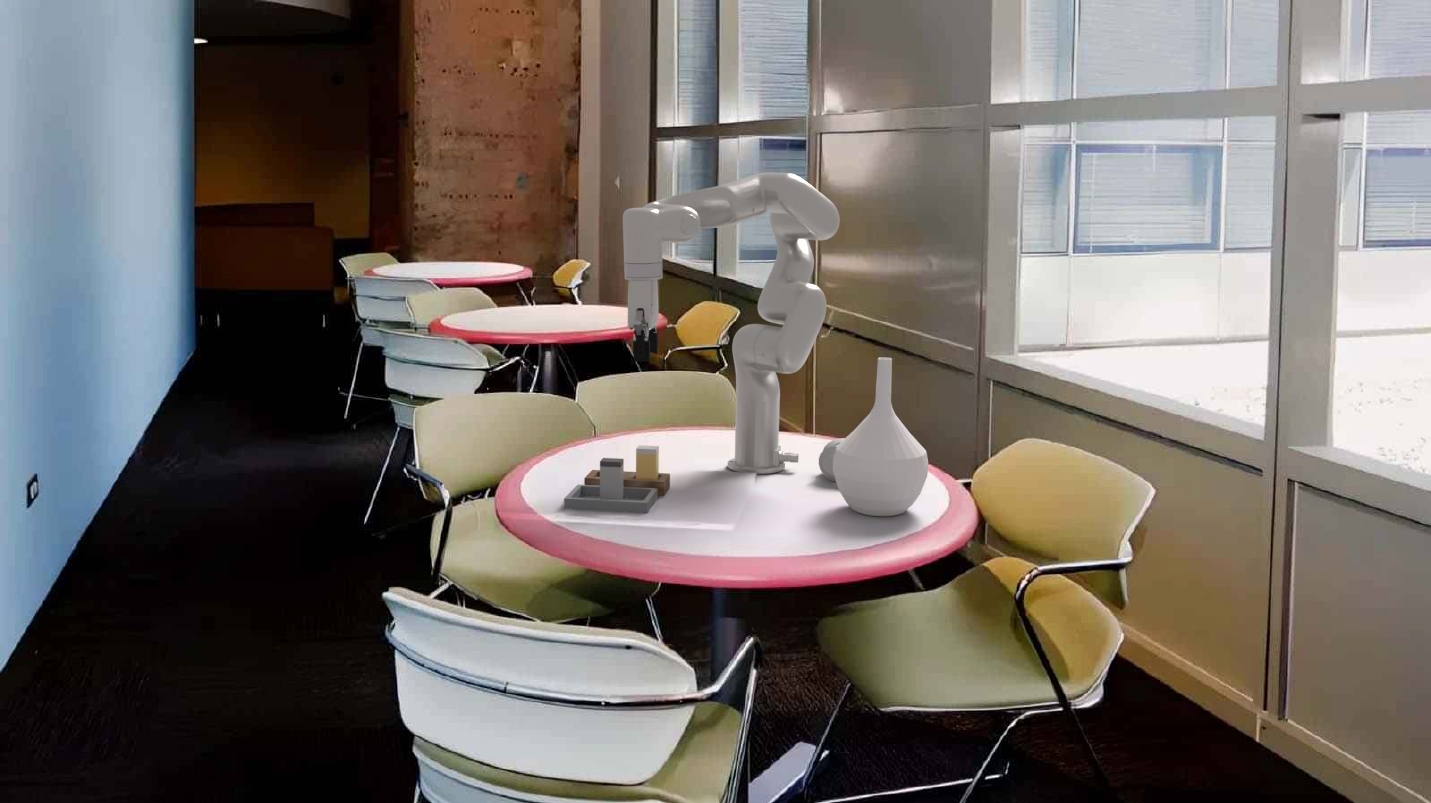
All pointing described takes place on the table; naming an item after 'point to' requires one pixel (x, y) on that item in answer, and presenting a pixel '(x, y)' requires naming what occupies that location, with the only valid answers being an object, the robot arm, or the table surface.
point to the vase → (880, 458)
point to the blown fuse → (611, 478)
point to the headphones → (829, 458)
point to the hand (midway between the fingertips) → (645, 356)
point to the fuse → (647, 462)
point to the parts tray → (579, 503)
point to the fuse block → (634, 481)
